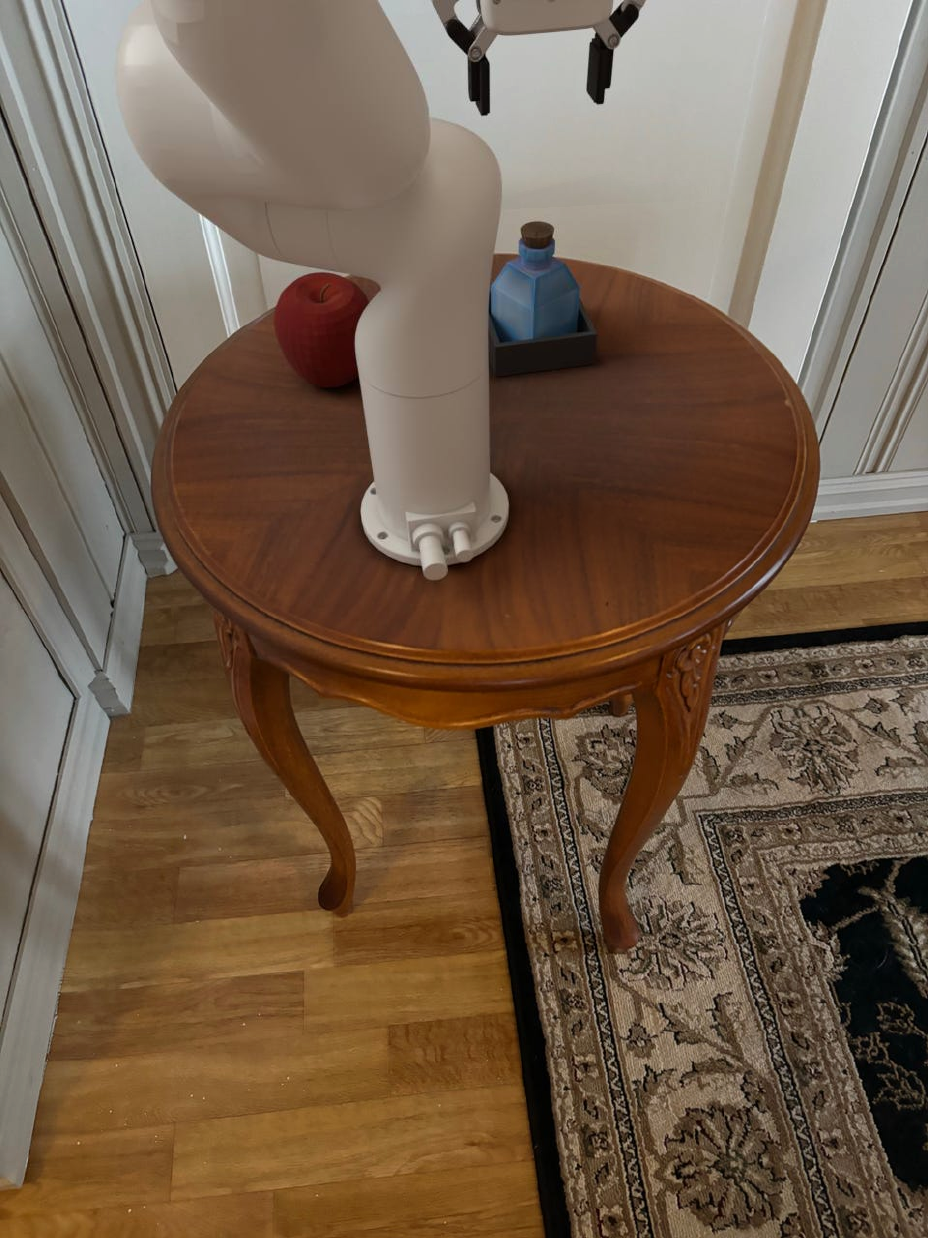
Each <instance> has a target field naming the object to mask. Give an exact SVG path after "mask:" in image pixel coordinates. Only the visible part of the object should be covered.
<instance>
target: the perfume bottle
mask: <svg viewBox="0 0 928 1238" xmlns="http://www.w3.org/2000/svg"><path fill="white" fill-rule="evenodd" d="M519 230H520V231H519V232H520V236H521V237H520V238H519V240H518V254H519V256H518V257H516V258H514V259H512V260H510V261H507V262H506V264H505V265H504V266H503V268H502V269H501V271H500V272H499V274H497V276H496V278H495V280H494V281H493V283H492V284H491V285H490V290H491V318H492V322H493V325H494V328H495V331H496V334H497V336H498V339H499V342H500V343H505V342H512V341H520V340H528V339H535V338H543V337H551V336H558V335H566V334H574V333H577V325H578V312H579V298H580V299H581V297H580V296H581V287H580V285H579V284H578V281H577V280H576V278H575V277H574V275H573V273H572V271H571V270H570V268H569V266H568V265H567V263H566V262H563V261H562V260H560V259H558V258H557V257H554V255H555V251H556V250H555V249H556V240H555V238H554V237H553V236H554V233H555V227H554V225H552V224H551V223H549V222H546V221H541V220H540V221H538V220H537V221H536V220H534V221H528V222H526V223H524V224H523V225H521V227H520V229H519Z"/></svg>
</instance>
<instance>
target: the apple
mask: <svg viewBox="0 0 928 1238" xmlns="http://www.w3.org/2000/svg"><path fill="white" fill-rule="evenodd" d="M369 303H370V300H369V299H368V296H367V294H366V293H365V292H364V291H363V289H361V288H360V286H358V285H357V284H356V283H355V282H354V281H352V280H350V279H348V278H346V277H344V276H343V275H339V274H337V273H332V272H327V271H325V272H324V271H319V272H318V271H317V272H311V273H306V274H303V275H301V276H299V277H297V278H296V279H294V280H293V281H292V282H291V283H290V284H289V285H288V286H286V288H285V289H283V291H282V292H281V294H280V295H279V297H278V300H277V303H276V305H275V307H274V316H273V327H274V332H275V333H274V334H275V336H276V340H277V342H278V345H279V348H280V350H281V352H282V354H283V356H284V357H285V359H286V361H287V363H288V364H289V365H290V367H291V369H293V371H294V372H295V373H296V375H298V376H299V377H300V378H301V379H302V380H303V381H304V382H306V383H308V384H310V385H312V386H314V387H318V388H328V389H329V388H336V387H342V386H345V385H347V384H350V383H351V382H353V381H354V380H356V379H357V378H359V372H358V367H357V360H356V353H355V333H356V329H357V325H358V322H359V319H360V317H361V315H362V313H363V311H364V310H365V308H366V307H367V306H368V304H369Z"/></svg>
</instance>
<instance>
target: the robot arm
mask: <svg viewBox="0 0 928 1238" xmlns="http://www.w3.org/2000/svg"><path fill="white" fill-rule="evenodd" d="M459 1H460V0H430V2H431V4H432V6H433V8H434V10H435V13H436V14H437V15H438V18H439V20H440V22H441V24H442V26H443V29H444V30H445V32H446V34H447V36H448V37H449V38H450V40H451V41H452V42H453V43H454V44H455V45H456V46H457V47H458V48H459V49H460V50H461V51H462V52H463V53H464V54H465V55H466V56H467V89H468V90H467V93H468V99H469V101H470V103H473V102H475V106H476V108H477V110H478V113H479V115H480V116H481V117H486V116H488V115H489V114H491V63H490V61H489V59H488V57H487V51H488V50H489V49H490V47H491V46H492V44H493V43H494V41H495V40H496V38H497V37H498V36H504V37H507V36H508V37H509V36H510V37H511V36H525V35H536V34H548V33H549V34H550V33H560V32H570V31H579V30H587V29H588V30H589V29H593V30H594V32H595V33H594V37H592V38H591V41H589V45H588V46H589V47H588V59H587V74H586V87H585V89H586V93H587V95H588V96H589V97H590V99H591V100H592V101H593V103H594V104H596V105H604V103H605V96H606V90H607V89H611V86H612V77H613V65H614V54H615V53H614V52H615V49H617V48H618V47H619V45H620V44H621V39H622V38H623V37H624V36H625V34H627V32H628V31H629V30H630V29H631V28H632V27H633V25H635V23H636V22H637V21H638V19H639V16H640V11H641V9H642V8H644V5H645V3H646V2H647V0H623V1H622V2H621V3H619V5H618V6H617V7H616V8H615V10H614V11H613V9H614V0H475V7H476V10H477V12H478V15H477V16H476V18H475V19H474V21H473V22H472V23H471V26H470V27H469V28H468V27H467V26H466V25H465V24H464V23H463V22H462V21H461V20H460V18H459V17H458V14H457V13H456V11H455V6H456V4H457V3H458V2H459ZM114 65H115V67H114V74H115V75H114V76H115V77H114V78H115V89H116V97H117V102H118V107H119V110H120V115H121V117H122V121H123V123H124V126H125V130H126V131H127V134H128V137H129V139H130V140H131V142H132V144H133V146H134V149H135V151H136V153H137V154H138V156H139V159H140V160H141V161H142V162H143V164H144V165H145V167H146V168H147V169H148V170H149V172H150V173H151V174H152V175H153V177H154V178H155V179H156V180H157V181H158V182H159V183H160V184H161V185H162V186H163V187H164V188H165V189H167V190H168V191H169V192H170V193H172V194H173V195H174V196H176V197H177V198H178V199H179V200H181V201H182V202H184V203H185V204H186V205H188V207H190V208H191V209H193V210H194V211H195V212H197V213H198V214H199V215H201V216H202V217H203V218H205V219H206V220H207V221H209V222H210V223H212V224H213V225H214V226H216V227H217V228H218V229H220V230H221V231H223V232H224V233H225V234H227V235H228V236H229V237H231V238H232V239H234V240H235V241H236V242H237V243H239V244H241V245H242V246H243V247H245V248H246V249H248V250H250V251H251V252H253V253H256V254H257V255H260V256H262V257H265V258H267V259H270V260H274V261H276V262H281V263H286V264H291V265H295V266H300V267H306V268H314V269H317V270H324V271H330V272H336V273H342V274H347V275H349V276H352V277H357V278H358V277H359V278H363V279H367V280H371V281H373V282H374V283H376V284H378V285H379V288H380V290H379V291H378V292H377V293H376V294H375V295H374V296H373V298H372V299H371V300H370V301H369V304H368V306H367V307H366V308H365V310H364V311H363V313H362V315H361V317H360V319H359V322H358V325H357V329H356V333H355V353H356V360H357V367H358V372H359V376H358V379H359V385H360V391H361V392H360V393H361V398H362V406H363V413H364V419H365V427H366V433H367V439H368V440H367V441H368V446H369V447H368V448H369V453H370V461H371V467H372V472H373V474H372V475H373V482H372V483H371V484H370V485H369V487H368V488H367V490H366V491H365V493H364V495H363V498H362V500H361V505H360V516H361V518H360V519H361V524H362V527H363V531H364V534H365V536H366V537H367V539H368V541H369V542H370V543H371V544H372V545H373V546H374V547H375V548H376V549H377V550H378V551H379V552H381V553H382V554H384V555H385V556H387V557H389V558H391V559H394V560H396V561H398V562H401V563H405V564H408V565H411V566H420V567H421V568H422V569H421V570H422V573H423V577H424V578H426V580H429V581H439V580H441V579H443V578H445V577H446V576H447V575H448V572H449V569H448V568H449V567H448V566H449V565H456V564H459V563H467V562H470V561H471V560H472V559H474V558H475V557H477V556H479V555H481V554H483V553H484V552H485V551H487V550H488V549H490V548H491V547H492V546H494V544H495V543H496V542H497V541H498V540H499V539H500V538H501V536H502V535H503V533H504V532H505V529H506V527H507V524H508V521H509V515H510V514H509V513H510V512H509V511H510V503H509V498H508V497H509V496H508V493H507V491H506V489H505V487H504V485H503V484H502V482H501V481H500V480H499V478H497V476H495V475H494V474H493V473H492V472H491V440H490V439H491V438H490V437H491V436H490V434H491V433H490V430H491V429H490V428H491V427H490V369H489V368H490V366H489V365H490V360H489V357H488V309H489V290H491V278H492V269H493V262H494V256H495V249H496V242H497V237H498V231H499V225H500V224H499V223H500V219H501V211H502V201H503V179H502V172H501V167H500V164H499V161H498V159H497V156H496V154H495V153H494V151H493V149H492V148H491V147H490V146H489V144H488V143H487V142H486V141H485V140H484V139H483V138H482V137H481V136H479V134H476V133H475V132H474V131H472V130H470V129H469V128H467V127H464V126H463V125H460V124H458V123H454V122H451V121H448V120H445V119H441V118H437V117H432V116H430V109H429V104H428V100H427V95H426V92H425V89H424V87H423V83H422V81H421V79H420V76H419V73H418V72H417V70H416V68H415V66H414V64H413V62H412V60H411V58H410V56H409V54H408V52H407V51H406V49H405V47H404V44H403V43H402V41H401V39H400V38H399V35H398V34H397V31H396V30H395V28H394V26H393V25H392V23H391V21H390V20H389V17H388V16H387V14H386V12H385V10H384V9H383V7H382V5H381V3H380V1H379V0H143V1H142V2H141V3H140V4H138V6H137V7H136V8H135V9H134V11H133V12H132V13H131V14H130V16H129V18H128V19H127V21H126V23H125V25H124V27H123V28H122V32H121V35H120V37H119V41H118V45H117V49H116V55H115V64H114Z"/></svg>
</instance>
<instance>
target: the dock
mask: <svg viewBox="0 0 928 1238" xmlns="http://www.w3.org/2000/svg"><path fill="white" fill-rule="evenodd" d="M597 341H598V332H597V330H596V328H595V325H594V324H593V322H592V320H591V318H590V316H589V314H588V312H587V310H586V308H585V305H584V303H583V301H582V299H581V297H580V298H579V312H578V325H577V333H574V334H566V335H558V336H551V337H543V338H535V339H528V340H520V341H512V342H505V343H500V342H499V339H498V336H497V334H496V331H495V328H494V325H493V322H492V318H491V289H490V290H489V309H488V357H489V364H490V365H491V368H492V371H493V374H494V377H495V378H500V377H501V378H502V377H510V376H516V375H522V374H523V375H524V374H530V373H537V372H538V373H539V372H545V371H553V370H561V369H568V368H575V367H583V366H589V365H590V366H591V365H595V363H596V353H597V343H598V342H597Z"/></svg>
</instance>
